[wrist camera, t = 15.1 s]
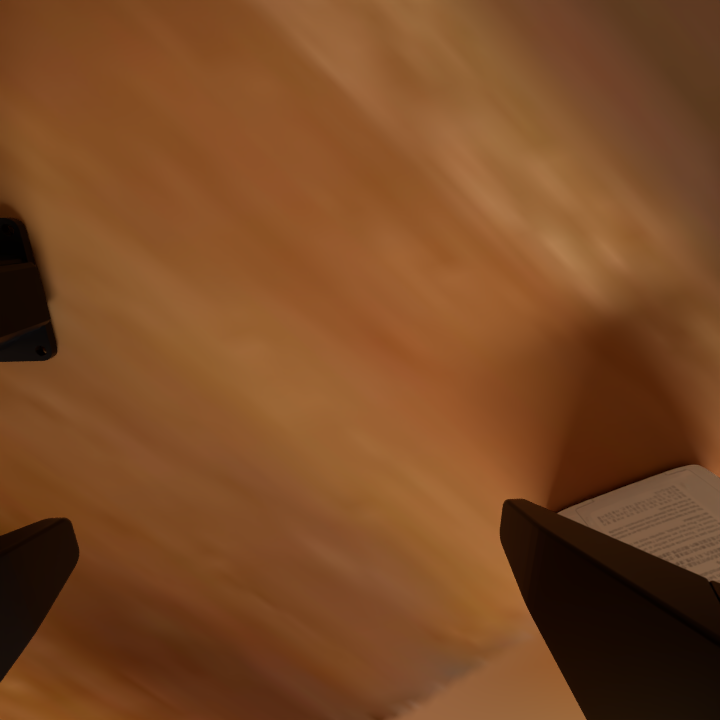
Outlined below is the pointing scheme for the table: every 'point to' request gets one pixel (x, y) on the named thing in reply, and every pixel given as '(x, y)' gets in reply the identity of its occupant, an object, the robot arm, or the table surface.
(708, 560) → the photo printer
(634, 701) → the robot arm
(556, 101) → the table surface
